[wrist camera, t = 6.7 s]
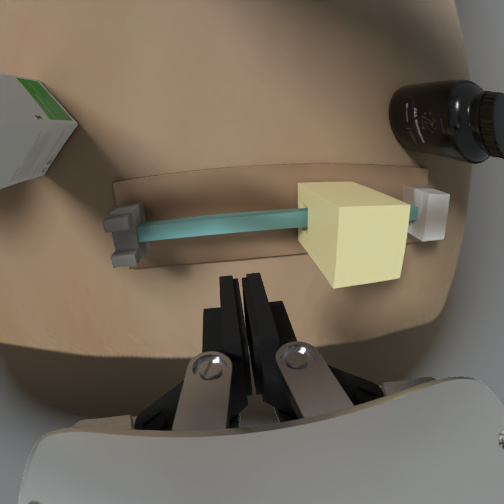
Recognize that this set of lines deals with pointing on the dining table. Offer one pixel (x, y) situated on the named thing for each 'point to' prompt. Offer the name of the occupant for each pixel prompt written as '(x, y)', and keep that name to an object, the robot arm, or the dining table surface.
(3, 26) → the dining table surface
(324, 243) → the pale yellow block
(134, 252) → the cable board
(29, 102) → the skincare box
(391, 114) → the supplement bottle
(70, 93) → the dining table surface
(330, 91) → the dining table surface
